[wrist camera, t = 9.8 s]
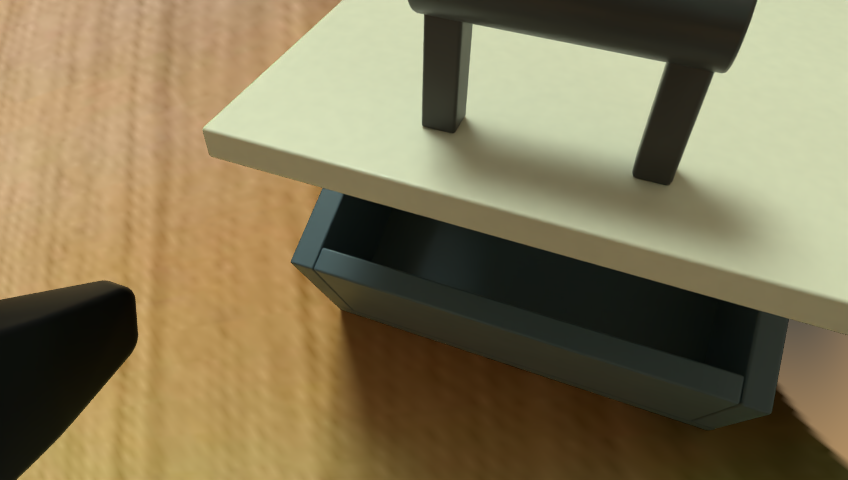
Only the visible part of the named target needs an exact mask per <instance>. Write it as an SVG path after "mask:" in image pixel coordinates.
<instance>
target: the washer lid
mask: <svg viewBox="0 0 848 480" xmlns="http://www.w3.org/2000/svg"><path fill="white" fill-rule="evenodd" d="M203 134H204V137H205V141H206V145H207V148H208V152H209V155H210V156H212V157H215V158H218V159H222V160H225V161H229V162H232V163H236V164H240V165H243V166H247V167H250V168H254V169H257V170H261V171H265V172H268V173H272V174H275V175H279V176H282V177H286V178H289V179H293V180H297V181H300V182H304V183H307V184H311V185H314V186H318V187H322V188H325V189H329V190H332V191H336V192H339V193H343V194H346V195H350V196H354V197H357V198H361V199H364V200H368V201H371V202H375V203H379V204H382V205H386V206H389V207H393V208H396V209H400V210H403V211H407V212H411V213H414V214H418V215H421V216H425V217H428V218H432V219H436V220H439V221H443V222H446V223H450V224H453V225H457V226H460V227H464V228H468V229H471V230H475V231H478V232H482V233H485V234H489V235H493V236H496V237H500V238H503V239H507V240H510V241H514V242H517V243H521V244H525V245H528V246H532V247H535V248H539V249H542V250H546V251H550V252H553V253H557V254H560V255H564V256H567V257H571V258H574V259H578V260H582V261H585V262H589V263H592V264H596V265H599V266H603V267H607V268H610V269H614V270H617V271H621V272H624V273H628V274H631V275H635V276H639V277H642V278H646V279H649V280H653V281H656V282H660V283H663V284H667V285H671V286H674V287H678V288H681V289H685V290H688V291H692V292H696V293H699V294H703V295H706V296H710V297H713V298H717V299H720V300H724V301H728V302H731V303H735V304H738V305H742V306H745V307H749V308H753V309H756V310H760V311H763V312H767V313H770V314H774V315H777V316H781V317H785V318H788V319H792V320H796V321H799V322H802V323H806V324H810V325H813V326H817V327H820V328H824V329H827V330H831V331H834V332H838V333H842V334H845V335H848V0H342V1H341V2H340V3H339V4H338V5H337V6H336V7H335V8H334V9H332V10H331V11H330V12H329V13H328V14H327V15H326V16H325V17H324V18H323V19H322V20H320V21H319V22H318V23H317V24H316V25H315V26H314V27H313V28H312V29H311V30H309V31H308V32H307V33H306V34H305V35H304V36H303V37H302V38H301V39H300V40H299V41H297V42H296V43H295V44H294V45H293V46H292V47H291V48H290V49H289V50H288V51H286V52H285V53H284V54H283V55H282V56H281V57H280V58H279V59H278V60H277V61H275V62H274V63H273V64H272V65H271V66H270V67H269V68H268V69H267V70H266V71H265V72H263V73H262V74H261V75H260V76H259V77H258V78H257V79H256V80H255V81H254V82H252V83H251V84H250V85H249V86H248V87H247V88H246V89H245V90H244V91H243V92H242V93H240V94H239V95H238V96H237V97H236V98H235V99H234V100H233V101H232V102H231V103H229V104H228V105H227V106H226V107H225V108H224V109H223V110H222V111H221V112H220V113H219V114H217V115H216V116H215V117H214V118H213V119H212V120H211V121H210V122H209V123H208V124H206V125H205V126H204V127H203Z"/></svg>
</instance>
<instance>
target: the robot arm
mask: <svg viewBox="0 0 848 480" xmlns="http://www.w3.org/2000/svg"><path fill="white" fill-rule="evenodd" d="M137 339H138V328H137V314H136V301H135V295H134V294H133V292H132V290H130V289H129V288H128V287H125V286H122V285H119V284H116V283H114V282H111V281H97V282H92V283H86V284H81V285H76V286H71V287H65V288H60V289H55V290H49V291H44V292H39V293H34V294H28V295H23V296H18V297H13V298H7V299H2V300H0V480H17V479H18V478H19V477H20V476H21V475H22V474H23V473H24V472H25V471H26V470H27V469H28V468H29V467H30V466H31V465H32V464H33V463H34V462H35V461H36V460H37V459H38V458H39V457H40V456H41V455H42V454H43V453H44V452H45V451H46V450H47V449H48V448H49V447H50V446H51V445H52V444H53V443H54V442H55V441H56V440H57V439H58V438H59V437H60V436H61V435H62V434H63V433H64V431H65V430H66V429H67V428H68V427H69V426H70V425H71V424H72V423H73V421H74V420H75V419H76V418H77V417H78V416H79V414H80V413H81V412H82V411H83V410H84V409H85V407H86V406H87V405H88V404H89V403H90V401H91V400H92V399H93V398H94V397H95V396H96V394H97V393H98V392H99V391H100V390H101V389H102V387H103V386H104V385H105V384H106V383H107V382H108V380H109V379H110V378H111V377H112V376H113V375H114V373H115V372H116V371H117V370H118V369H119V367H120V366H121V365H122V364H123V363H124V362H125V360H126V359H127V358H128V357H129V356H130V355H131V353H132V352H133V350H134V348H135V346H136V343H137Z"/></svg>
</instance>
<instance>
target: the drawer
mask: <svg viewBox="0 0 848 480" xmlns="http://www.w3.org/2000/svg"><path fill="white" fill-rule="evenodd" d="M291 263H292V264H293V265H294V266H295V267H296V268H297V269H298V270H299V271H300V272H301V273H303V274H304V275H305V276H306V277H307V278H308V279H309V280H310V281H311V282H312V283H313V284H314V285H315V286H316V287H317V288H318V289H319V290H321V291H322V292H323V293H324V294H325V295H326V296H327V297H328V298H329V299H330V300H331V301H332V302H333V303H334V304H335V305H337V306H338V307H339V308H340V309H341V310H344V311H347V312H350V313H353V314H356V315H359V316H362V317H365V318H368V319H371V320H374V321H377V322H380V323H383V324H386V325H389V326H392V327H395V328H398V329H401V330H405V331H408V332H411V333H414V334H417V335H420V336H423V337H426V338H429V339H432V340H435V341H438V342H441V343H444V344H447V345H450V346H453V347H456V348H459V349H462V350H465V351H468V352H471V353H474V354H477V355H480V356H483V357H486V358H489V359H492V360H495V361H498V362H502V363H505V364H508V365H511V366H514V367H517V368H520V369H523V370H526V371H529V372H532V373H535V374H538V375H541V376H544V377H547V378H550V379H553V380H556V381H559V382H562V383H565V384H568V385H571V386H574V387H577V388H580V389H583V390H586V391H589V392H592V393H595V394H599V395H602V396H605V397H608V398H611V399H614V400H617V401H620V402H623V403H626V404H629V405H632V406H635V407H638V408H641V409H644V410H647V411H650V412H653V413H656V414H659V415H662V416H665V417H668V418H671V419H674V420H677V421H680V422H683V423H686V424H689V425H692V426H696V427H699V428H702V429H705V430H713V429H715V428H719V427H723V426H727V425H731V424H735V423H739V422H742V421H746V420H750V419H754V418H758V417H761V416H765V415H769V414H771V412H772V408H773V403H774V397H775V392H776V386H777V381H778V375H779V370H780V364H781V359H782V354H783V348H784V343H785V337H786V332H787V326H788V321H789V319H788V318H785V317H781V316H777V315H774V314H770V313H767V312H763V311H760V310H756V309H753V308H749V307H745V306H742V305H738V304H735V303H731V302H728V301H724V300H720V299H717V298H713V297H710V296H706V295H703V294H699V293H696V292H692V291H688V290H685V289H681V288H678V287H674V286H671V285H667V284H663V283H660V282H656V281H653V280H649V279H646V278H642V277H639V276H635V275H631V274H628V273H624V272H621V271H617V270H614V269H610V268H607V267H603V266H599V265H596V264H592V263H589V262H585V261H582V260H578V259H574V258H571V257H567V256H564V255H560V254H557V253H553V252H550V251H546V250H542V249H539V248H535V247H532V246H528V245H525V244H521V243H517V242H514V241H510V240H507V239H503V238H500V237H496V236H493V235H489V234H485V233H482V232H478V231H475V230H471V229H468V228H464V227H460V226H457V225H453V224H450V223H446V222H443V221H439V220H436V219H432V218H428V217H425V216H421V215H418V214H414V213H411V212H407V211H403V210H400V209H396V208H393V207H389V206H386V205H382V204H379V203H375V202H371V201H368V200H364V199H361V198H357V197H354V196H350V195H346V194H343V193H339V192H336V191H332V190H329V189H325V188H323V189H322V191H321V193H320V195H319V198H318V200H317V202H316V205H315V207H314V209H313V212H312V214H311V216H310V218H309V221H308V223H307V225H306V228H305V230H304V232H303V235H302V237H301V239H300V241H299V244H298V246H297V248H296V251H295V253H294V255H293V258H292V260H291Z"/></svg>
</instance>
